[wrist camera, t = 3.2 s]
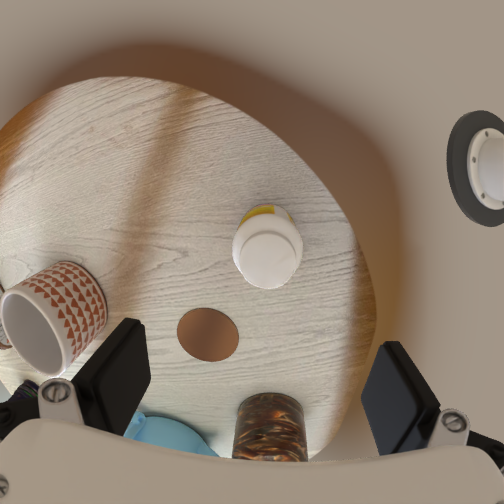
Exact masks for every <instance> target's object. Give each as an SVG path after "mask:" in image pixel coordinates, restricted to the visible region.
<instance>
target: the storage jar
mask: <svg viewBox="0 0 504 504" xmlns="http://www.w3.org/2000/svg"><path fill="white" fill-rule="evenodd" d="M38 389H39V386H38V385H37V384H35V383H34V382H32V381H30V380H25V381H24V383H23V384H22V385H20V386H19V387H18V388H17V390H16V391H15V392H14V394H13V395H12V397H11V398H10V399H9V400H8V401H6V402H9V401H15V400H20V399H25V398H31V397H36V396H38Z"/></svg>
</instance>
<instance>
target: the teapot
mask: <svg viewBox="0 0 504 504" xmlns="http://www.w3.org/2000/svg"><path fill="white" fill-rule="evenodd" d="M131 420H132V422H131V423H130V424H129V425H128V427H127V429H126V431H125V433H124V436H123V437H126V438H129V439H133V440H136V441H140V442H144V443H148V444H152V445H156V446H161V447H165V448H169V449H174V450H179V451H184V452H190V453H195V454H202V455H208V456H215V457H220V456H219V455H217V454H216V453H215V452H214V451H213V450H212V449H210V448H209V447H208V446H207V445H206V443H205V442H204V441H203V439H202V438H201V437H200V436H199V435H198V434H197V433H196V432H195V431H194V430H193V429H191V428H190V427H188V426H186V425H184V424H183V423H180V422H178V421H175V420H173V419H169V418H165V417H157V416H151V417H145V415H144V414H143V413H141V412H139V411H135V413H134V415H133V417H132V419H131Z"/></svg>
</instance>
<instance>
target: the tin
mask: <svg viewBox="0 0 504 504" xmlns="http://www.w3.org/2000/svg"><path fill="white" fill-rule="evenodd" d="M3 293H4V290H3V288H2V287H1V285H0V300H1V297H2V295H3ZM9 348H12V345H11V344H10V342H9V340H8V338H7V336H6V334H5V331H4V329H3V326H2V322H1V318H0V349H3V350H5V349H9Z"/></svg>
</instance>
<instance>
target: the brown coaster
mask: <svg viewBox="0 0 504 504" xmlns="http://www.w3.org/2000/svg"><path fill="white" fill-rule="evenodd" d="M177 336H178V340H179V342H180V344H181V346H182V347H183V348H184V350H185V351H186V352H188V353H189V354H190V355H191V356H193V357H195V358H197V359H200V360H203V361H209V362H216V361H221V360H224V359H226V358H228V357H229V356H231V355H232V354H233V353H234V351H235V350H236V348H237V345H238V341H239V335H238V331H237V328H236V326H235V324H234V323H233V322H232V320H231V319H230V318H229V317H227V316H226V315H225V314H223V313H221V312H219V311H217V310H214V309H209V308H199V309H194V310H191V311H189V312H188V313H186V314H185V315H184V316H183V317H182V318H181V320H180V322H179V324H178V327H177Z"/></svg>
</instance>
